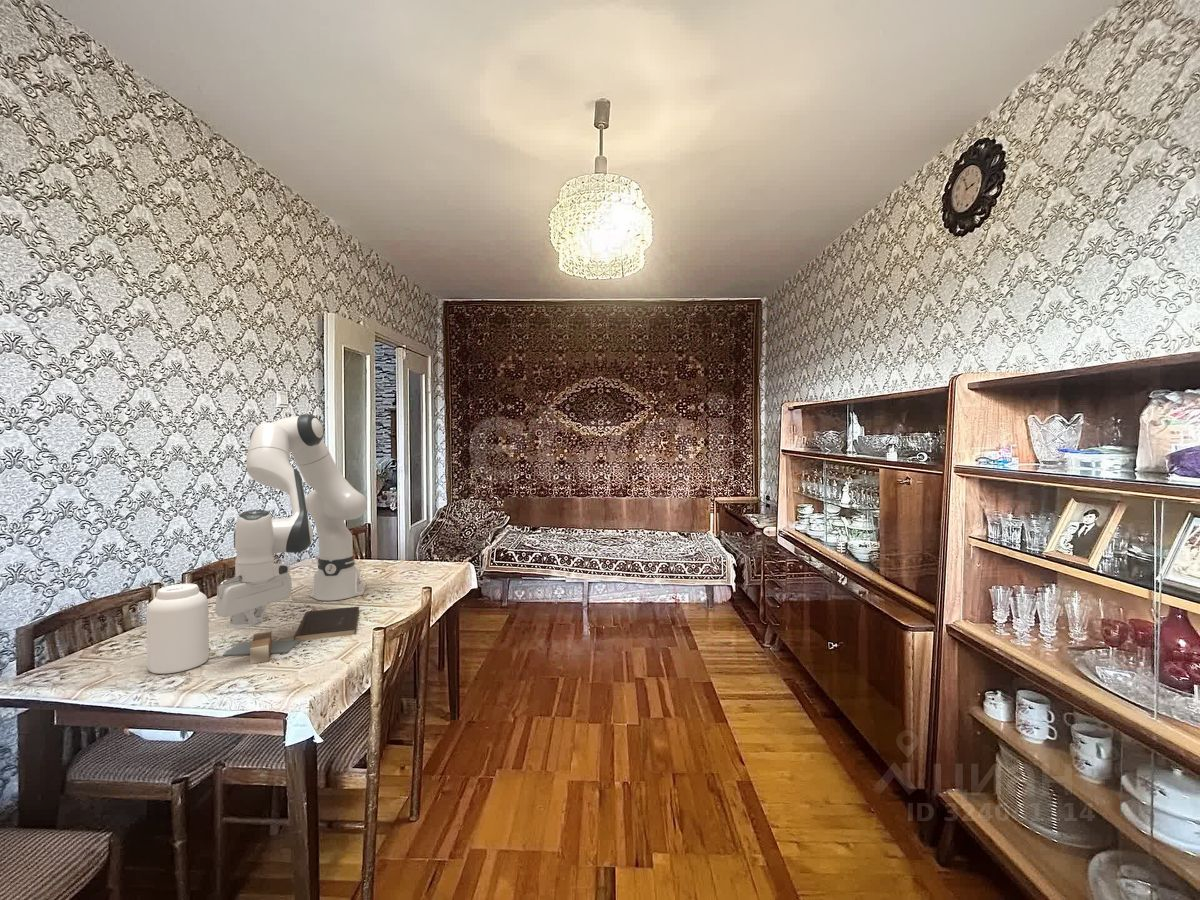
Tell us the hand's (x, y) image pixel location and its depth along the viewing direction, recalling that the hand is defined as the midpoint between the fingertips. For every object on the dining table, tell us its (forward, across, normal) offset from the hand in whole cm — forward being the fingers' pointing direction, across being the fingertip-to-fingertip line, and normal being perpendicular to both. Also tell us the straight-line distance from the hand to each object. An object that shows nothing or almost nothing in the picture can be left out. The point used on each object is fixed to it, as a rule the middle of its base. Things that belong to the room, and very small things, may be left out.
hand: (255, 623), depth 149 cm
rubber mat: (+8, +4, +2) cm, 9 cm away
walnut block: (+6, +3, +1) cm, 6 cm away
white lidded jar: (+8, -11, +12) cm, 19 cm away
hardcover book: (+9, +24, -1) cm, 26 cm away
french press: (+8, +19, +26) cm, 33 cm away
